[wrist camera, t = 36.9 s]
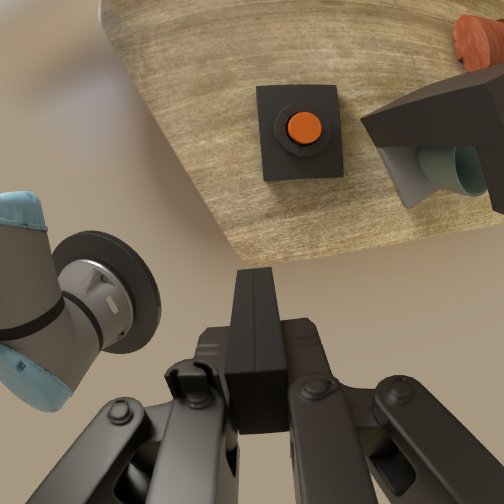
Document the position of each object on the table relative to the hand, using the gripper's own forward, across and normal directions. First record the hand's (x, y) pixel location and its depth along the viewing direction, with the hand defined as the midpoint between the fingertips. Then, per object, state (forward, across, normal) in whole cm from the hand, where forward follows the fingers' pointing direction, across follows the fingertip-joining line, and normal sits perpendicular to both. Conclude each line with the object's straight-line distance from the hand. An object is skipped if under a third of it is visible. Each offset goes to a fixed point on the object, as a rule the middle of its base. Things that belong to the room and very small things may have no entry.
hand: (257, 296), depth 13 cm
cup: (+23, +26, +5) cm, 35 cm away
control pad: (+25, +7, +9) cm, 27 cm away
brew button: (+21, +7, +9) cm, 24 cm away
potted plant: (+24, +51, +26) cm, 62 cm away
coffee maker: (+25, +25, +8) cm, 36 cm away
